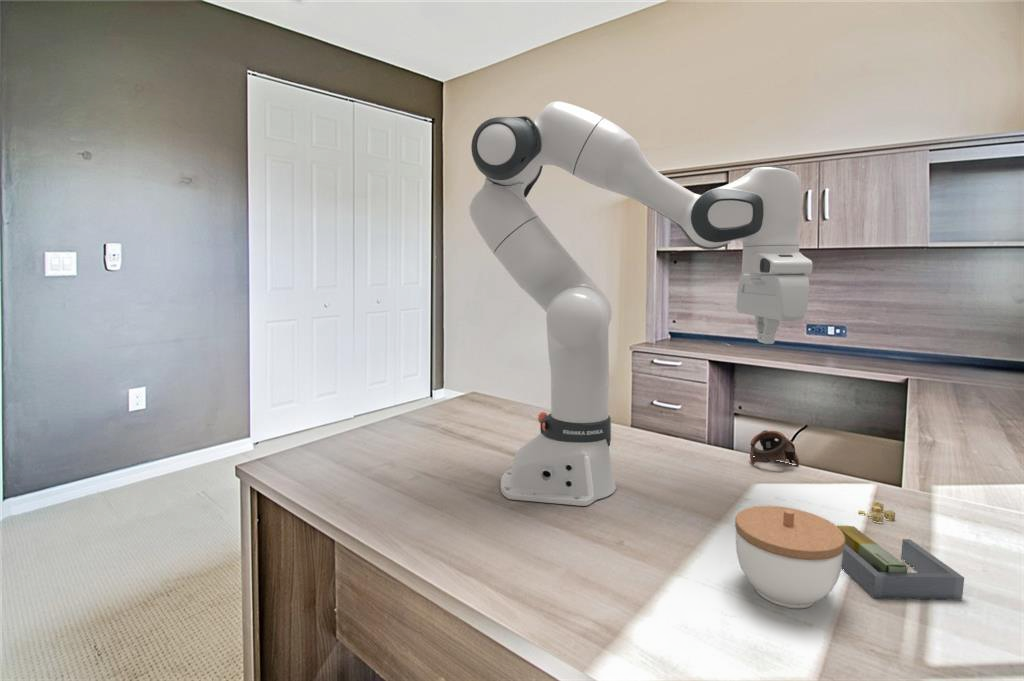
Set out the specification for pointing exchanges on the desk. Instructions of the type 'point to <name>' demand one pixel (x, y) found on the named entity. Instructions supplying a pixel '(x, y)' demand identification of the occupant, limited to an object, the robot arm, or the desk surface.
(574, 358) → the robot arm
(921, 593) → the bracket
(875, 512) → the dice set
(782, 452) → the brown jagged ring
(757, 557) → the lidded white bowl
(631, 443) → the desk surface
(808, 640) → the desk surface
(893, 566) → the medication box
